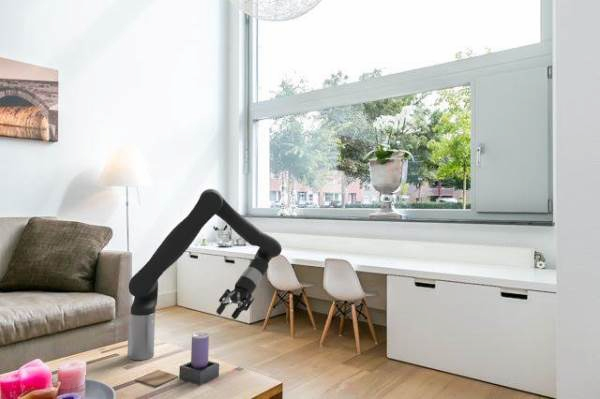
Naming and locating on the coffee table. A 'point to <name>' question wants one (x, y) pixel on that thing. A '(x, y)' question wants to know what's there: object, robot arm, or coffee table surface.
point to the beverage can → (200, 351)
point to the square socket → (199, 373)
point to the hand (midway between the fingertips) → (225, 315)
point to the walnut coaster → (157, 378)
